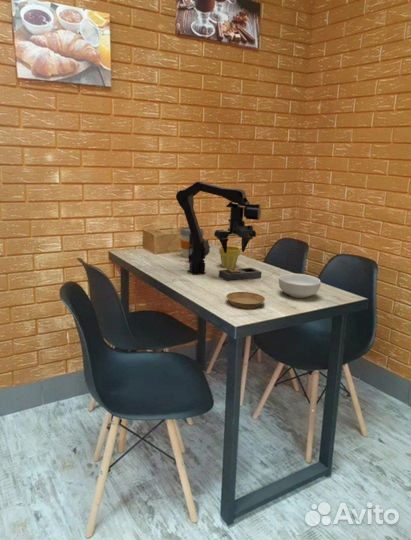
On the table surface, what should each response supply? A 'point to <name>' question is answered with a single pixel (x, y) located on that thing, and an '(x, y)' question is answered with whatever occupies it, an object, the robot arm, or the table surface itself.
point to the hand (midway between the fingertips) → (234, 252)
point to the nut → (233, 270)
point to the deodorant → (190, 246)
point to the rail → (240, 274)
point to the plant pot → (229, 256)
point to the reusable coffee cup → (186, 240)
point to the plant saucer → (245, 299)
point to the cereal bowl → (299, 285)
